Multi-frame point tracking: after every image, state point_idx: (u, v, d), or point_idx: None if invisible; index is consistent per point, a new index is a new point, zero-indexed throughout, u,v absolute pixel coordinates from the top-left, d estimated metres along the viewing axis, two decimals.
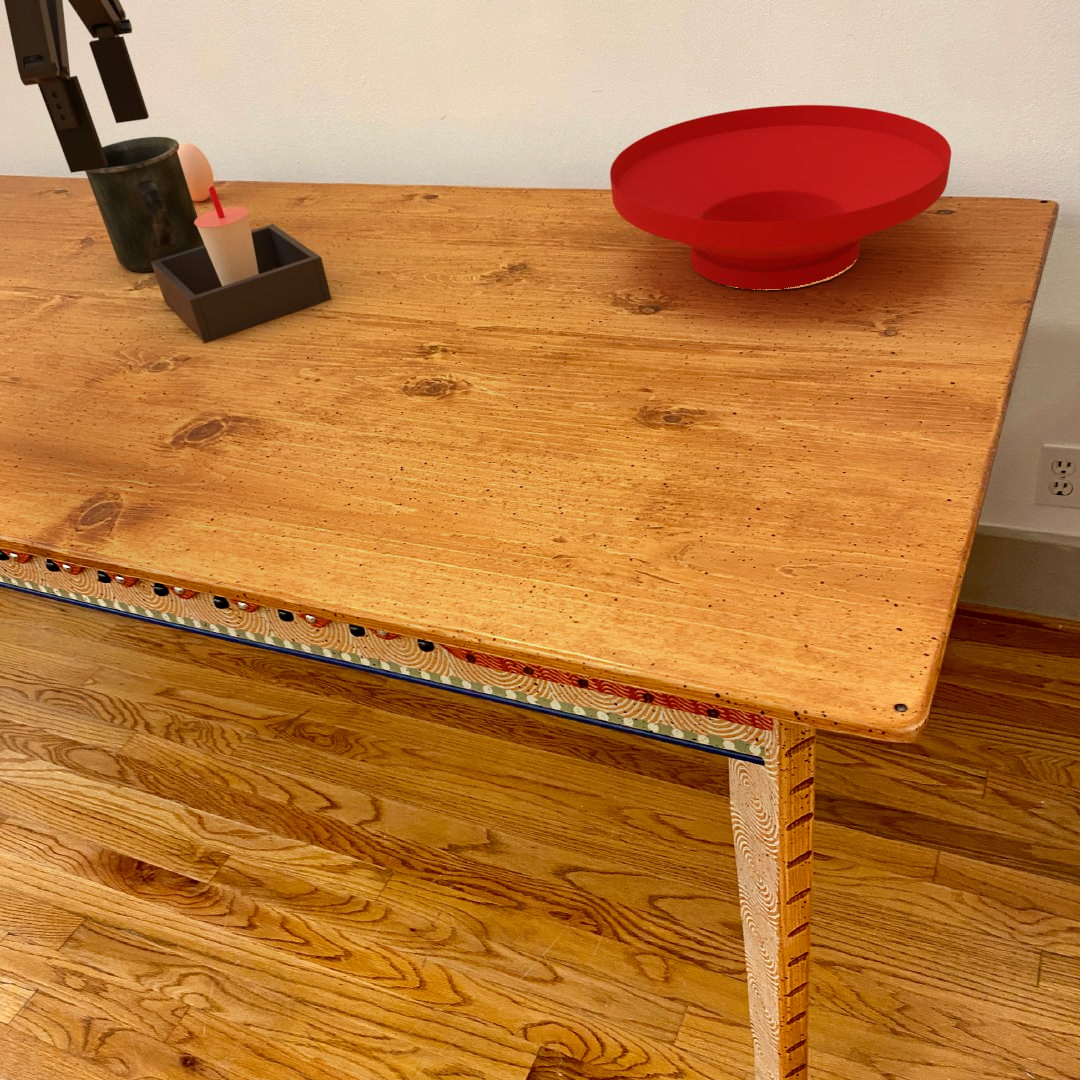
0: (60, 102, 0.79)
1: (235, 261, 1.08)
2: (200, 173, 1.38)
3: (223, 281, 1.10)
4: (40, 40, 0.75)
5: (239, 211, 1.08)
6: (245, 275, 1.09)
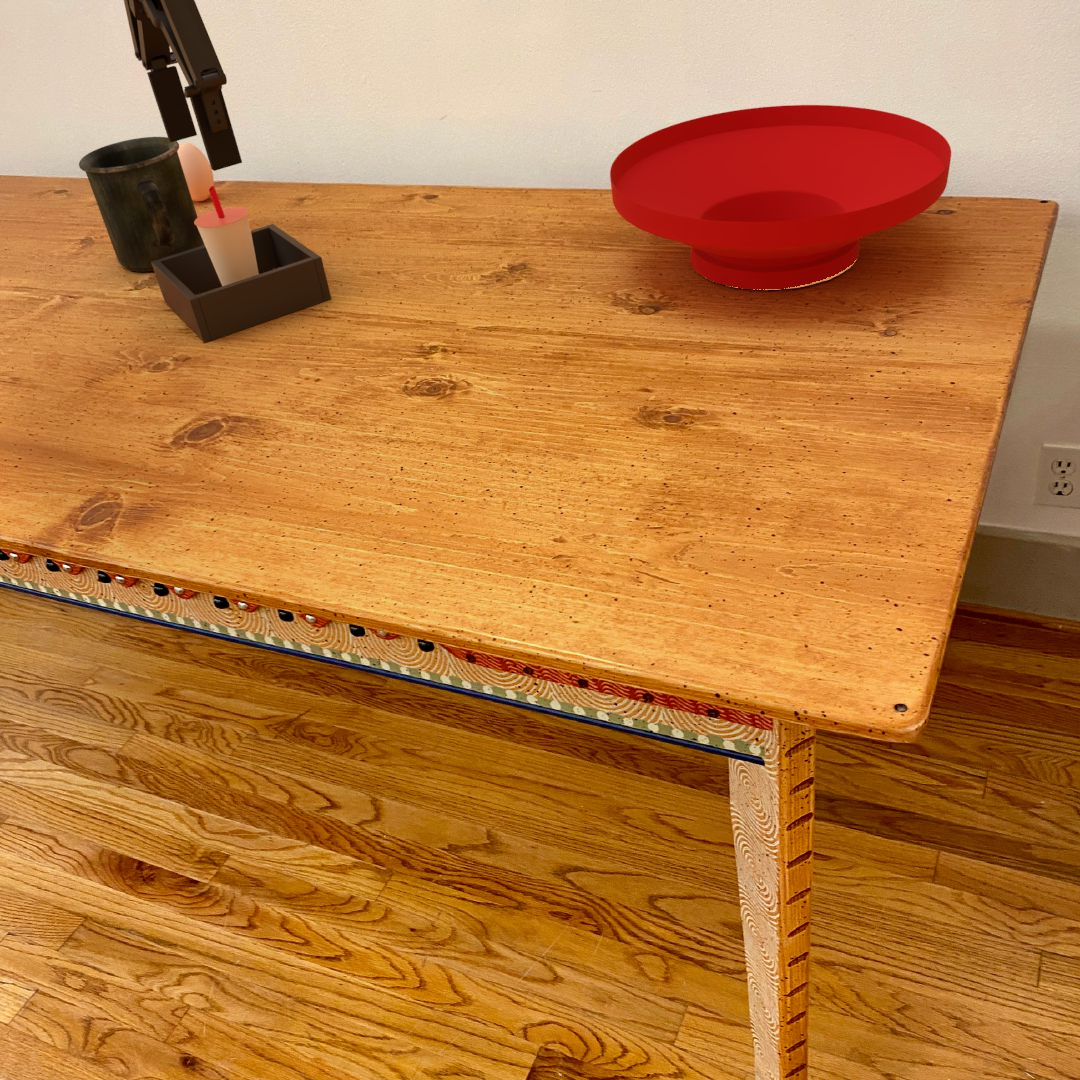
0: (216, 108, 0.95)
1: (235, 261, 1.08)
2: (200, 173, 1.38)
3: (223, 281, 1.10)
4: (211, 56, 0.92)
5: (239, 211, 1.08)
6: (245, 275, 1.09)
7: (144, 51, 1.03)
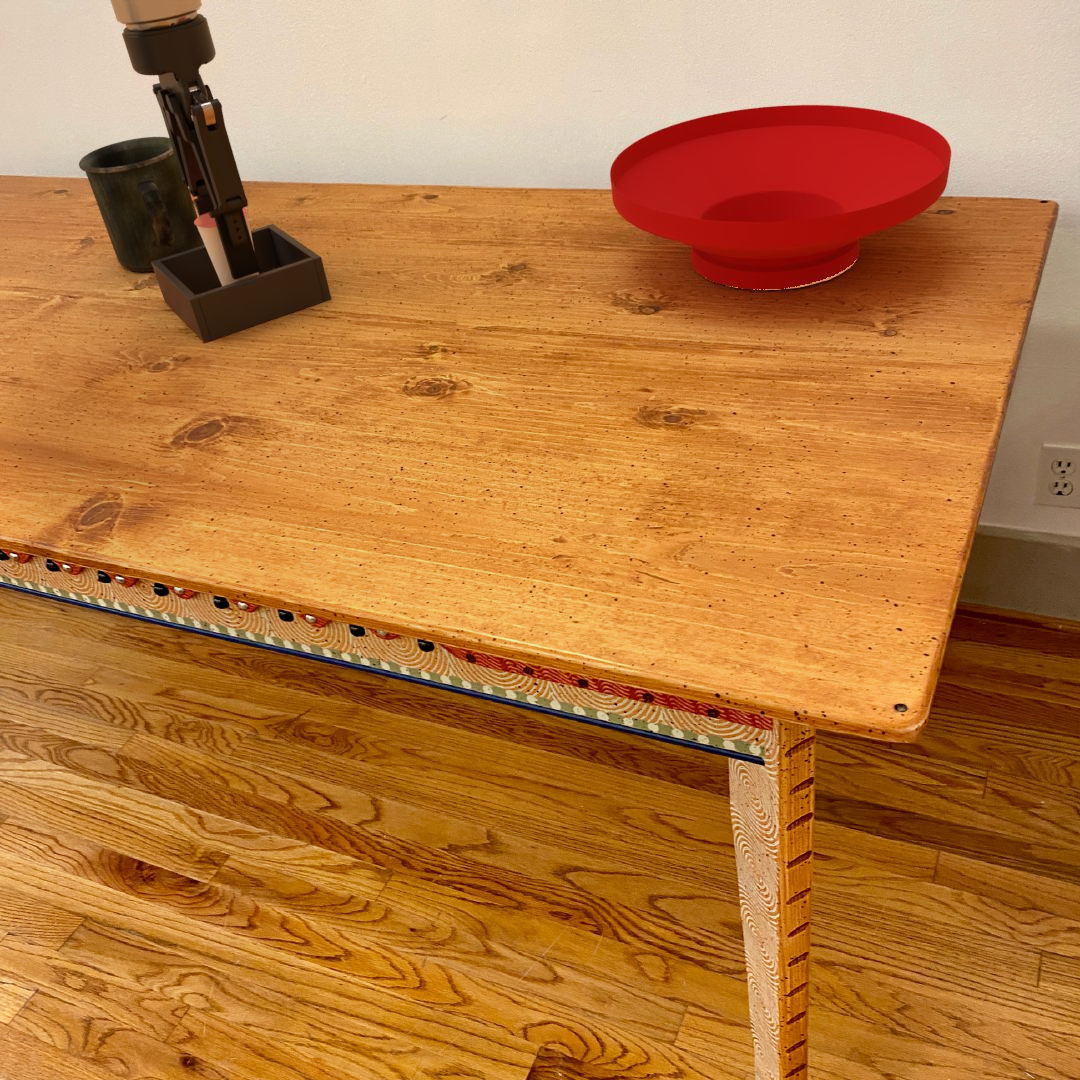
0: (238, 226, 1.04)
1: None
2: None
3: (223, 281, 1.10)
4: (237, 184, 1.01)
5: None
6: None
7: (188, 174, 1.07)
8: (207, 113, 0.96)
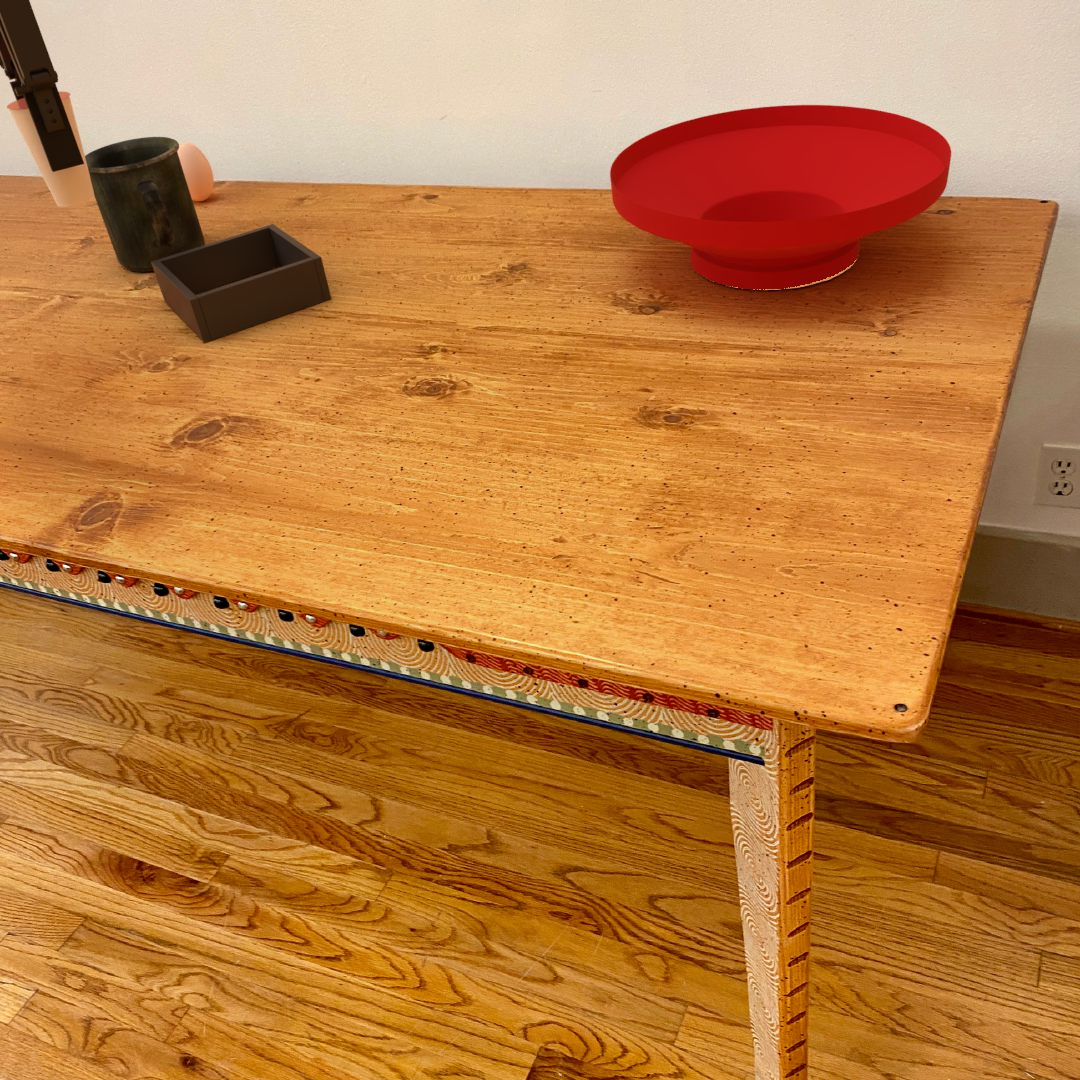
0: (51, 107, 0.91)
1: None
2: (200, 173, 1.38)
3: (45, 176, 0.97)
4: (42, 54, 0.88)
5: (60, 95, 0.95)
6: (69, 169, 0.97)
7: None
8: None
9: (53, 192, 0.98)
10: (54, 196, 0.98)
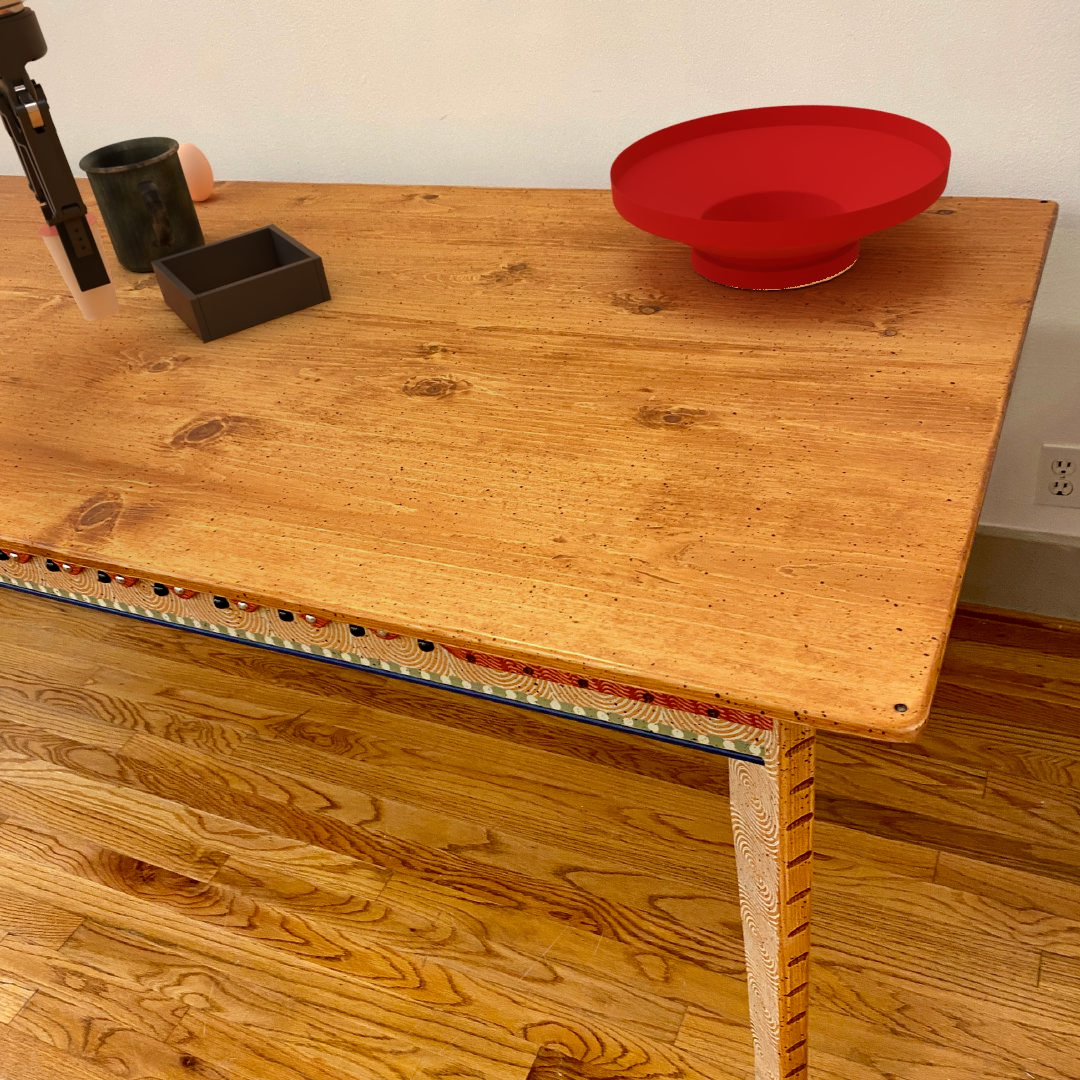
0: (80, 235, 0.97)
1: None
2: (200, 173, 1.38)
3: (73, 293, 1.03)
4: (73, 191, 0.94)
5: (88, 218, 1.01)
6: None
7: (31, 179, 1.00)
8: (32, 114, 0.89)
9: (81, 307, 1.04)
10: (82, 311, 1.04)
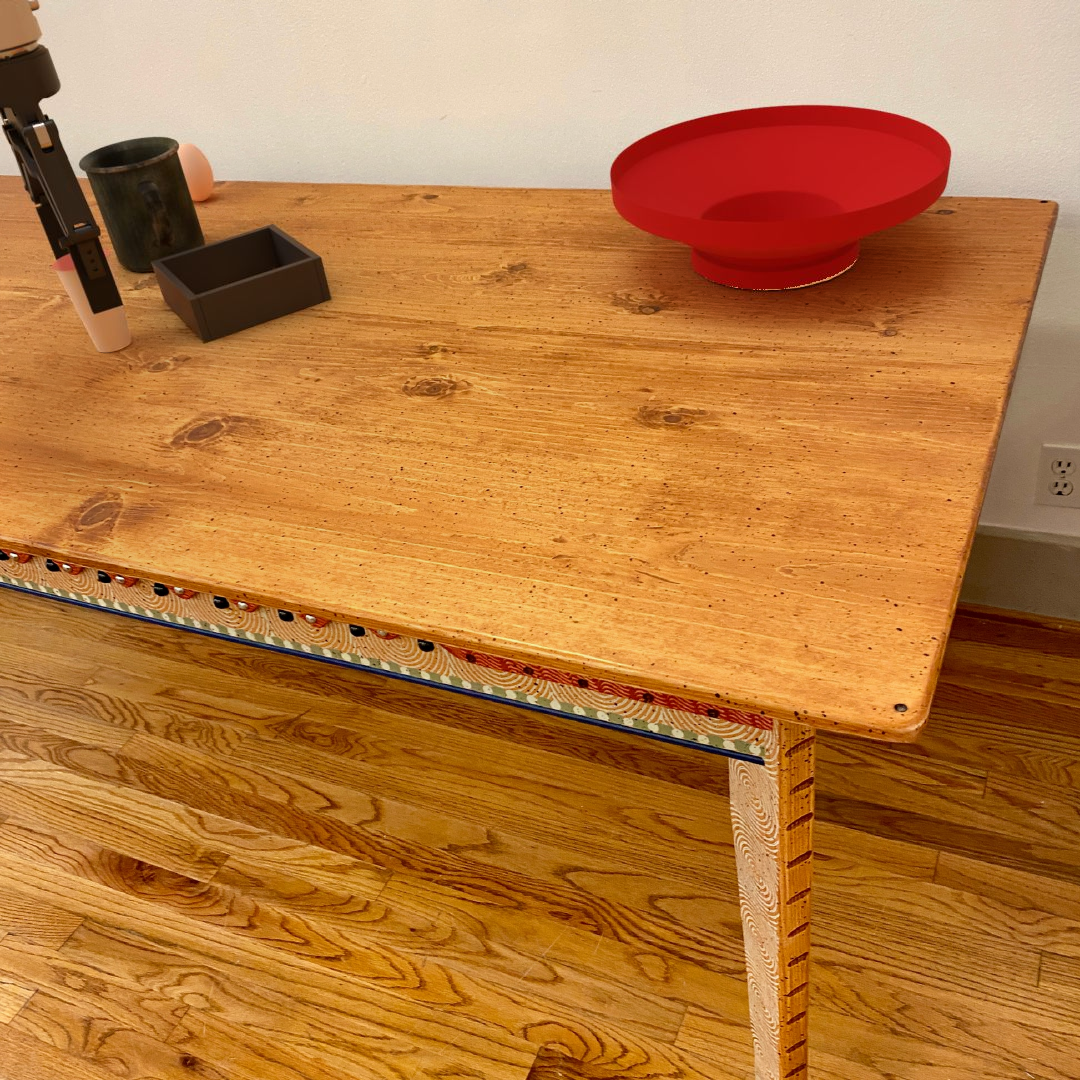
0: (93, 257, 0.95)
1: None
2: (200, 173, 1.38)
3: (86, 326, 1.05)
4: (84, 209, 0.92)
5: None
6: (109, 319, 1.04)
7: (30, 188, 1.03)
8: (39, 132, 0.90)
9: (94, 339, 1.06)
10: (95, 342, 1.06)
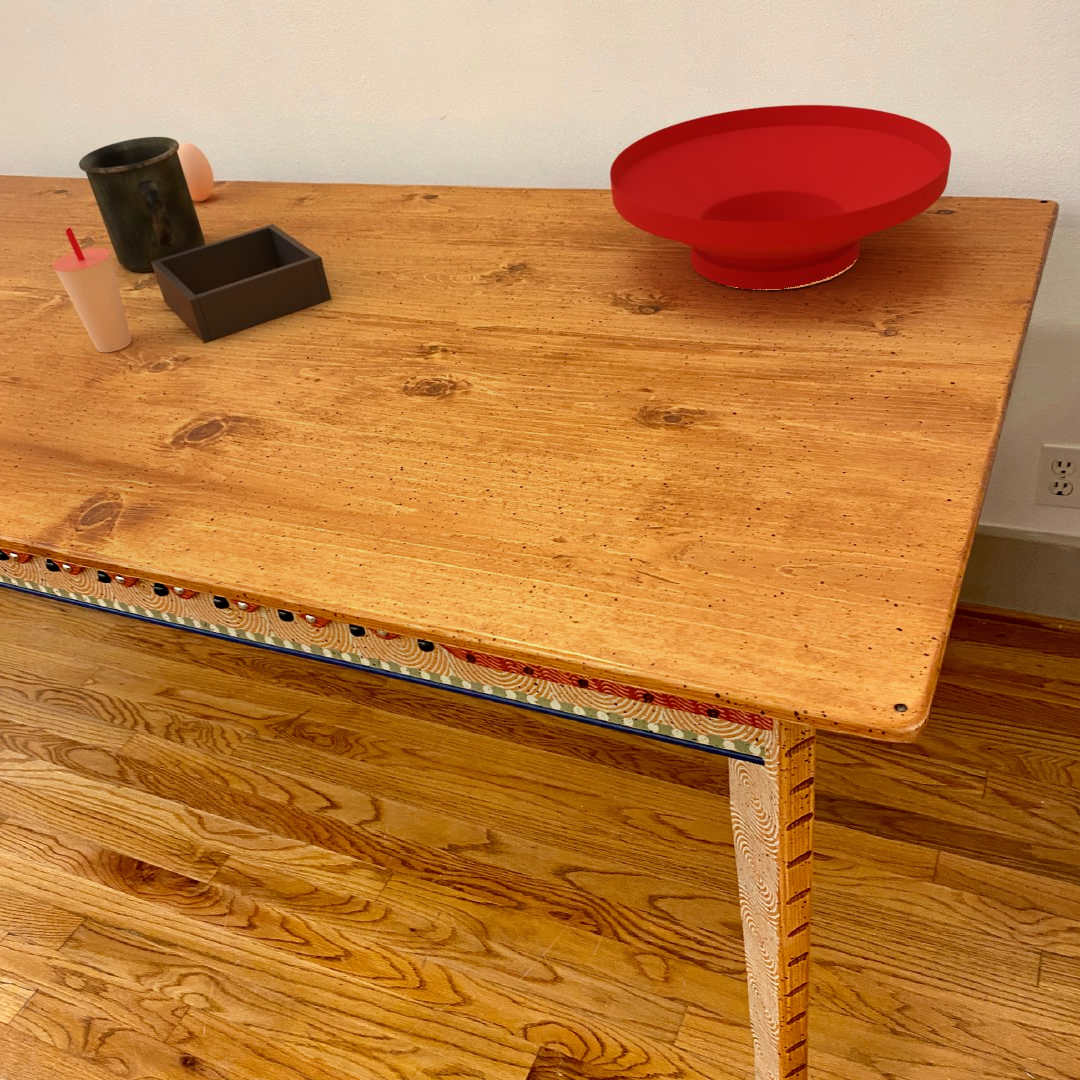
0: None
1: (97, 305, 1.03)
2: (200, 173, 1.38)
3: (86, 326, 1.05)
4: None
5: (101, 253, 1.03)
6: (109, 319, 1.04)
7: None
8: None
9: (94, 339, 1.06)
10: (95, 342, 1.06)
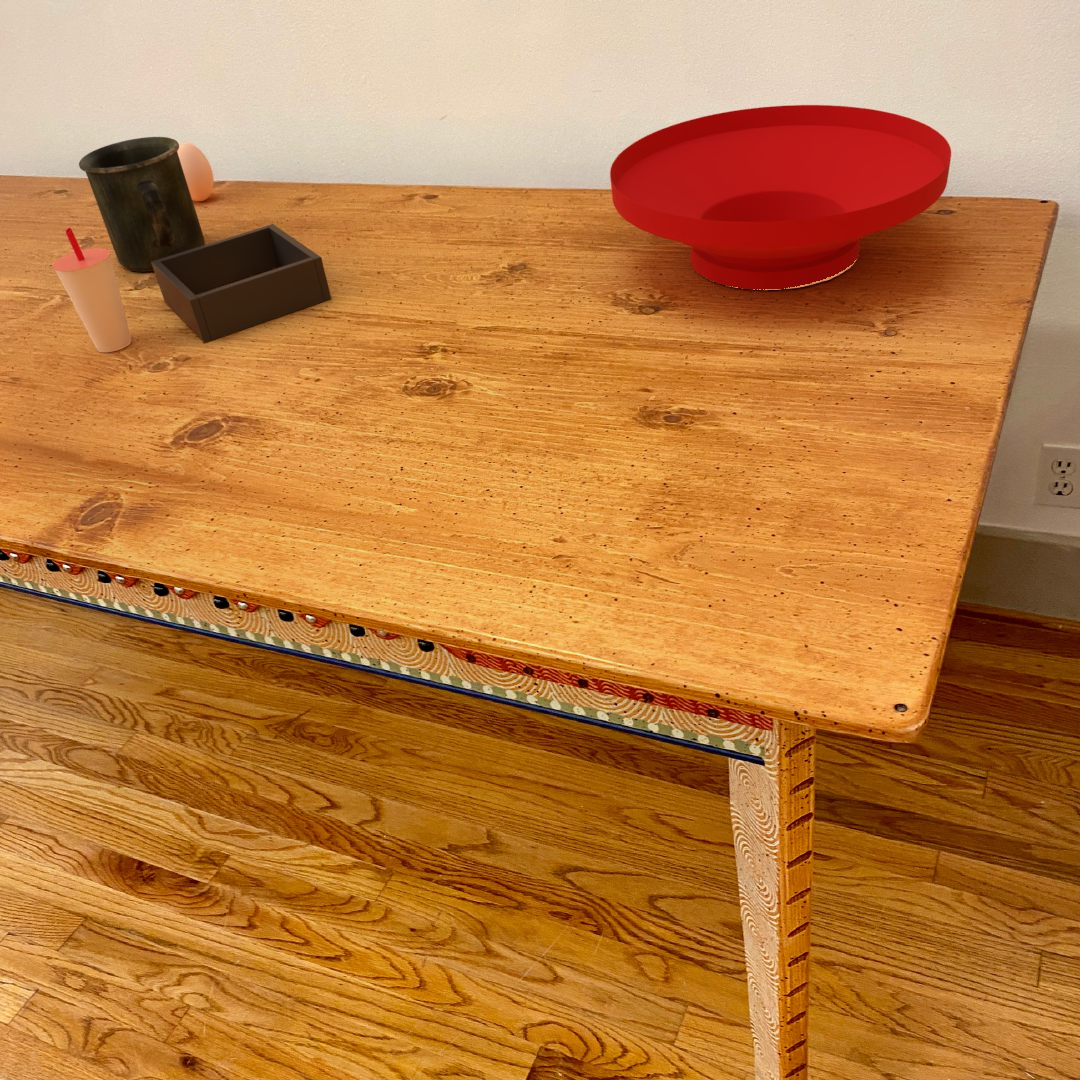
0: None
1: (97, 305, 1.03)
2: (200, 173, 1.38)
3: (86, 326, 1.05)
4: None
5: (101, 253, 1.03)
6: (109, 319, 1.04)
7: None
8: None
9: (94, 339, 1.06)
10: (95, 342, 1.06)
